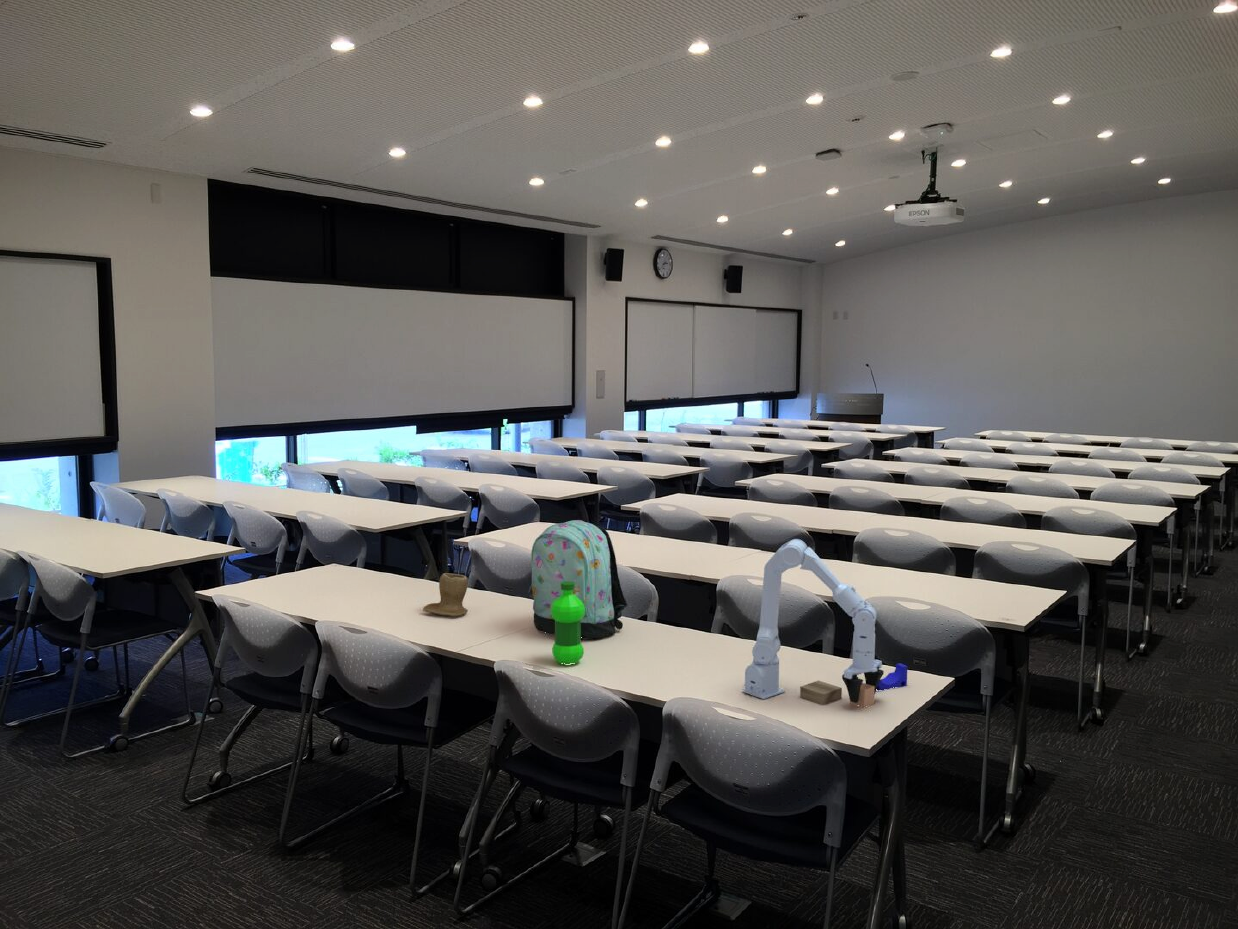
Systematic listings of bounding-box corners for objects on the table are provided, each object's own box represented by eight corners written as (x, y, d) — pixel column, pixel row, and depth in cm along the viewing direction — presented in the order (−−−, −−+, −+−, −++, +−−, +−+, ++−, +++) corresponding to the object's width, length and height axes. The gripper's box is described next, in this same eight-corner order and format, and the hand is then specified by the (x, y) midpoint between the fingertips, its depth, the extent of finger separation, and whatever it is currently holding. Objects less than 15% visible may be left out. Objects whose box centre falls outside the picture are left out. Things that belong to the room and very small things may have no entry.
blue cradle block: (895, 681, 276) (896, 661, 275) (906, 686, 272) (907, 666, 271) (863, 687, 271) (863, 667, 270) (873, 692, 267) (874, 672, 266)
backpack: (515, 638, 317) (514, 524, 313) (546, 619, 340) (545, 513, 336) (604, 648, 306) (604, 530, 302) (630, 628, 329) (631, 519, 324)
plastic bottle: (568, 670, 284) (568, 588, 281) (544, 663, 291) (543, 583, 288) (591, 662, 291) (591, 583, 289) (567, 655, 298) (567, 577, 296)
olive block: (823, 705, 256) (823, 694, 256) (800, 697, 262) (800, 686, 262) (841, 698, 261) (841, 687, 261) (818, 690, 267) (818, 680, 267)
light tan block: (864, 708, 254) (864, 690, 254) (850, 703, 258) (850, 685, 257) (873, 704, 257) (874, 686, 257) (859, 699, 261) (860, 682, 260)
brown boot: (475, 612, 349) (474, 572, 347) (455, 620, 338) (454, 579, 337) (442, 607, 356) (441, 568, 354) (421, 615, 345) (421, 574, 344)
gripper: (860, 658, 248) (858, 708, 249) (892, 648, 257) (890, 696, 259) (838, 652, 253) (836, 701, 255) (870, 642, 263) (868, 689, 264)
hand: (862, 698), depth 257 cm, fingers open, 7 cm apart
